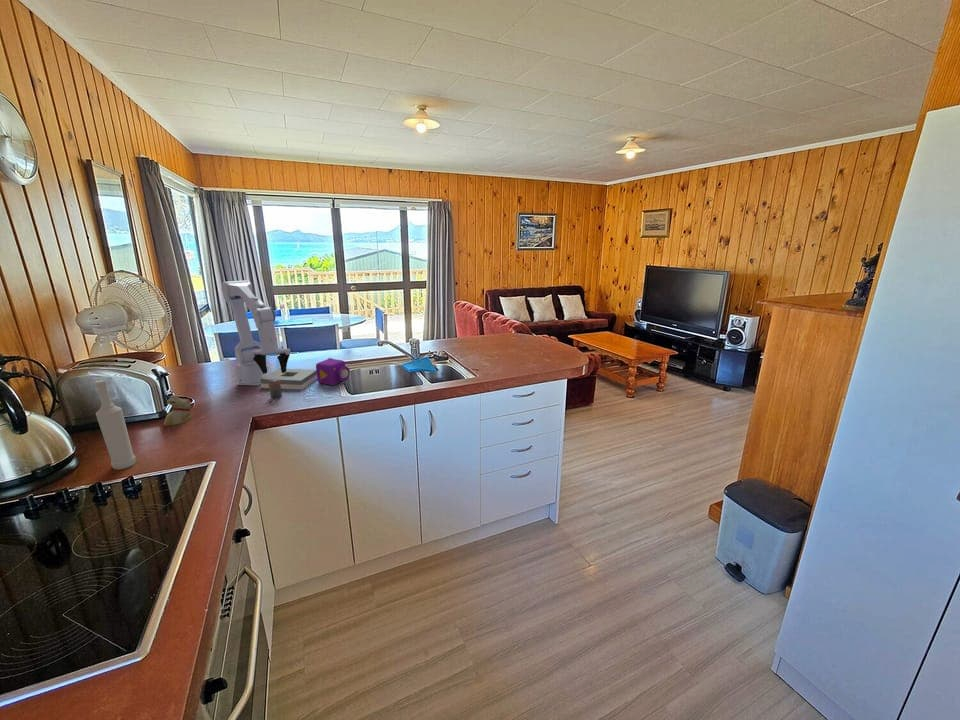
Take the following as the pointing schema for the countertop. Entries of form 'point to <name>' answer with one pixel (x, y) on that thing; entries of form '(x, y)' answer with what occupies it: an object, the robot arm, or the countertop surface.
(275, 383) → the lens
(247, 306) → the robot arm
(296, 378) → the white flat box
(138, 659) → the countertop surface
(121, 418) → the bottle
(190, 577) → the countertop surface
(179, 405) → the chocolate bunny
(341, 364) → the toy camera
